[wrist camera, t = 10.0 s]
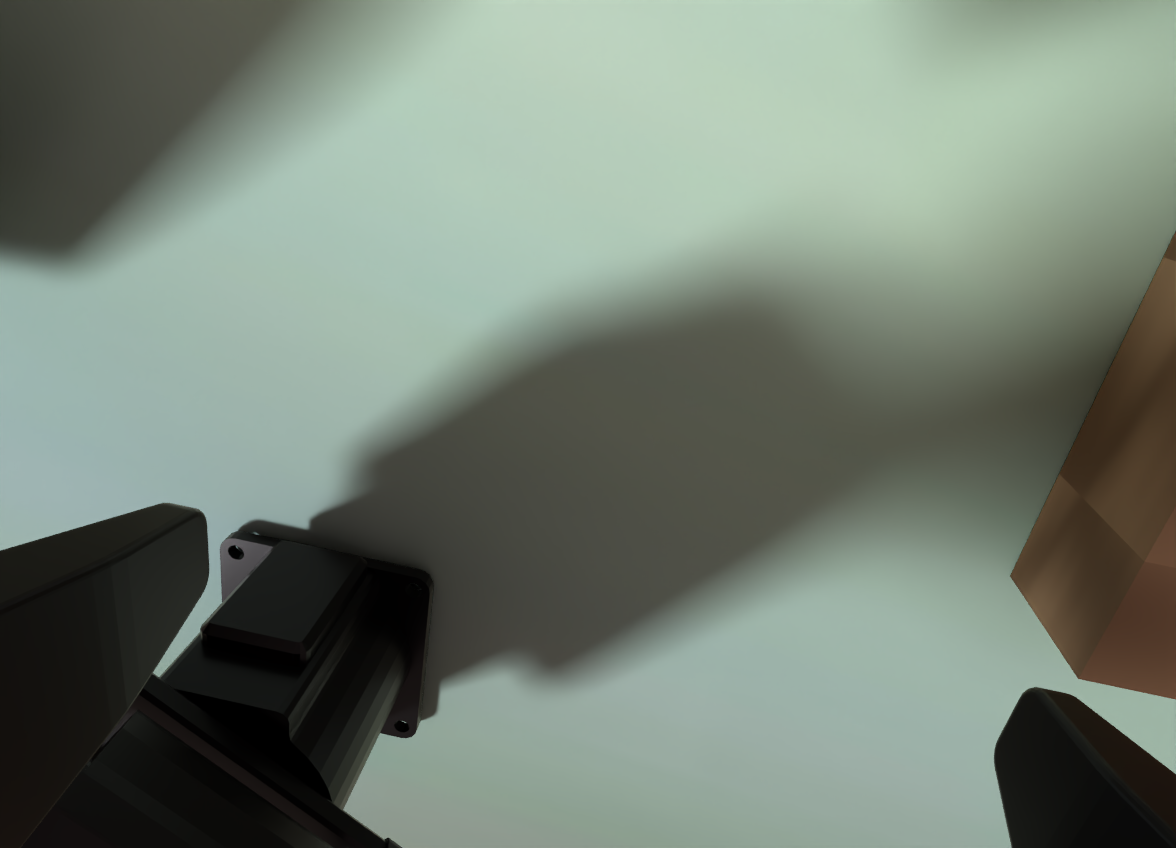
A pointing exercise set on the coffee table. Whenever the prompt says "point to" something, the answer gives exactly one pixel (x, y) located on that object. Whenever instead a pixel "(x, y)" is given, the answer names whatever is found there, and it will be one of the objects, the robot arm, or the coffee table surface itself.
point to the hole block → (1117, 516)
